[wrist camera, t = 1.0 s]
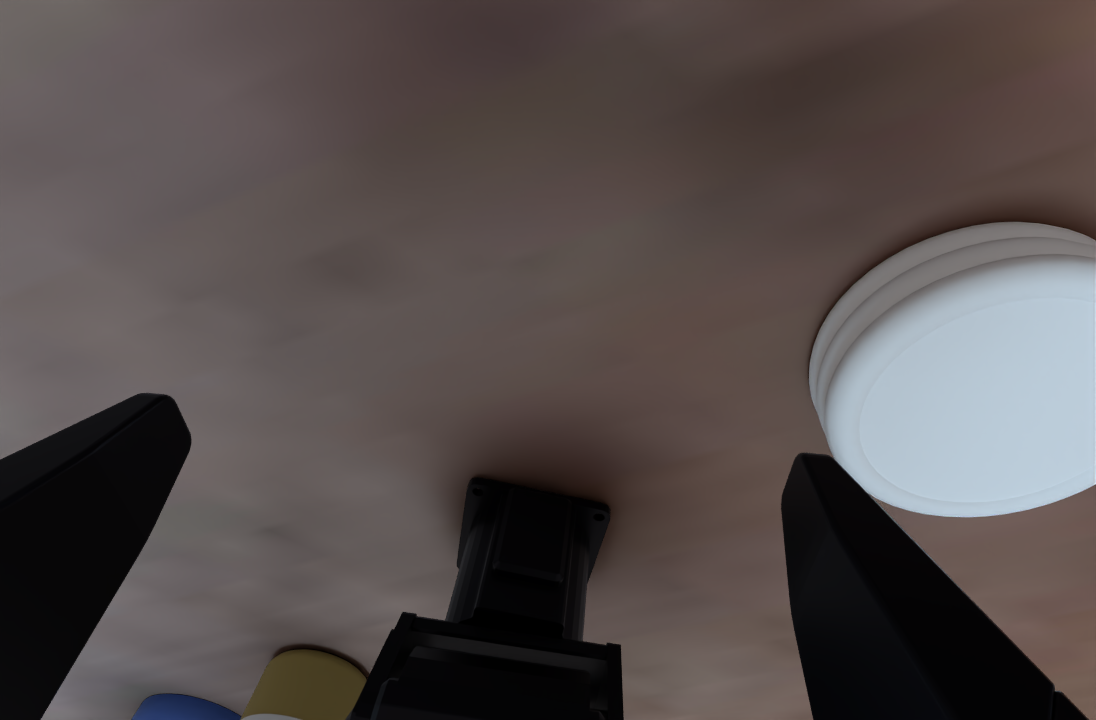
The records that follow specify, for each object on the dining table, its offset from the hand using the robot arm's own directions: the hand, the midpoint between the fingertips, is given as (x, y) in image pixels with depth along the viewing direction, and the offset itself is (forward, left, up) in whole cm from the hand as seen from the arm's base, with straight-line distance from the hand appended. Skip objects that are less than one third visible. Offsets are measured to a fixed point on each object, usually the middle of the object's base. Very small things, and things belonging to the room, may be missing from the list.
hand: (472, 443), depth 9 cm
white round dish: (-4, -15, -13) cm, 20 cm away
